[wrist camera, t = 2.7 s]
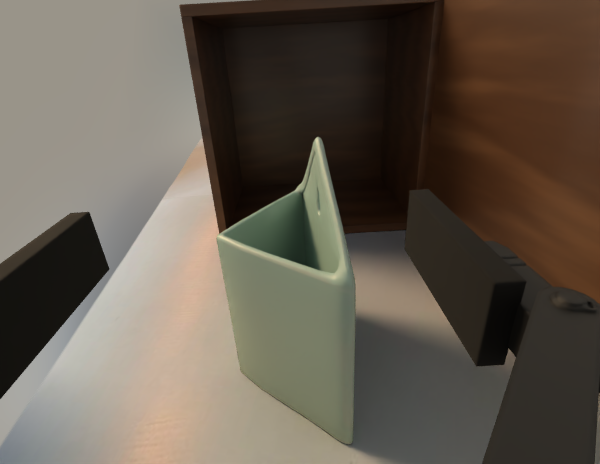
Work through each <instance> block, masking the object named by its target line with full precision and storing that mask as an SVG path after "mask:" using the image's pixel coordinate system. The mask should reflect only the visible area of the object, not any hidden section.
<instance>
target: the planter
mask: <svg viewBox="0 0 600 464" xmlns="http://www.w3.org/2000/svg"><path fill="white" fill-rule="evenodd" d="M216 239H217V244H218V250H219V256H220V261H221V267H222V272H223V277H224V283H225V288H226V293H227V299H228V304H229V310H230V315H231V321H232V326H233V331H234V337H235V342H236V348H237V353H238V359H239V365H240V370H241V372H242V373H243V374H244V375H246V376H247V377H248V378H249V379H250V380H252V381H253V382H254V383H255V384H256V385H258V386H259V387H260V388H261V389H263V390H264V391H266V392H267V393H269V394H270V395H272V396H273V397H275V398H276V399H278V400H279V401H281V402H282V403H284V404H286V405H287V406H289V407H290V408H292V409H293V410H295V411H297V412H298V413H300V414H301V415H303V416H305V417H306V418H308V419H309V420H310V421H312V422H313V423H315V424H316V425H317V426H319V427H320V428H322V429H323V430H325V431H326V432H327V433H329V434H330V435H332V436H333V437H334V438H336V439H337V440H339V441H341V442H342V443H345V444H351V443H352V441H353V413H354V362H355V279H354V274H353V270H352V266H351V261H350V257H349V253H348V248H347V244H346V239H345V235H344V231H343V226H342V222H341V218H340V214H339V209H338V205H337V201H336V197H335V193H334V189H333V184H332V180H331V176H330V172H329V167H328V163H327V158H326V154H325V149H324V145H323V141H322V139H321V138H320V137H317V138H316V139H315V140H314V142H313V146H312V150H311V154H310V158H309V162H308V166H307V170H306V173H305V176H304V179H303V181H302V183H301V184H300V185H299V186H298V187H297V188H296V190H295V191H293V192H291V193H290V194H288V195H286V196H284V197H282V198H280V199H278V200H276V201H275V202H273V203H271V204H269V205H267V206H266V207H264V208H262V209H260V210H259V211H257V212H255V213H253V214H252V215H250V216H248V217H246V218H245V219H243V220H241V221H239V222H238V223H236V224H235V225H233V226H231V227H230V228H228V229H226V230H225V231H223V232H221V233H220V234H219V235H218V236H217V238H216Z"/></svg>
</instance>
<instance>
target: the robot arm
mask: <svg viewBox="0 0 600 464" xmlns="http://www.w3.org/2000/svg"><path fill="white" fill-rule="evenodd" d="M405 250H406V252H407V254H408V255H409V257H410V258H411V260H412V262H413V263H414V265H415V267H416V268H417V270H418V272H419V273H420V275H421V276H422V278H423V280H424V281H425V283H426V285H427V286H428V288H429V290H430V291H431V293H432V295H433V296H434V298H435V299H436V301H437V303H438V304H439V306H440V308H441V309H442V311H443V313H444V314H445V316H446V317H447V319H448V321H449V322H450V324H451V326H452V327H453V329H454V331H455V332H456V334H457V335H458V337H459V339H460V340H461V342H462V344H463V345H464V347H465V349H466V350H467V352H468V353H469V355H470V357H471V358H472V360H473V362H474V363H475V365H476V366H490V365H504V363H505V359H506V356H507V352H508V348H509V349H510V350H511V351H512V353H513V354H514V355H515V357H516V360H515V363H514V367H513V370H512V373H511V376H510V379H509V382H508V385H507V388H506V391H505V394H504V398H503V401H502V404H501V407H500V410H499V413H498V416H497V419H496V422H495V425H494V429H493V432H492V435H491V438H490V441H489V444H488V447H487V450H486V453H485V456H484V460H483V463H482V464H594V462H595V445H596V429H597V412H598V396H599V393H600V304H599V303H597V302H596V301H595V300H594V299H593V298H591V297H589V296H587V295H586V294H584V293H581V292H578V291H575V290H572V289H568V288H563V287H553V286H552V285H551V284H549V283H548V282H547V281H546V280H545V279H544V278H542V277H541V276H540V275H539V274H538V273H537V272H536V271H534V270H533V269H532V268H531V267H530V266H529V265H526V263H525V262H524V261H523V260H522V259H521V258H518V256H517V255H516V254H515V253H514V252H512V251H511V250H510V249H509V248H508V247H506V246H503V245H501V244H499V243H497V242H495V241H483V240H482V239H481V238H480V237H479V236H478V235H477V234H476V233H475V232H474V231H472V230H471V229H470V228H469V227H468V226H467V225H466V224H465V223H464V222H463V221H462V220H461V219H460V218H459V217H458V216H456V215H455V214H454V213H453V212H452V211H451V210H450V209H449V208H448V207H447V206H446V205H445V204H444V203H443V202H442V201H440V200H439V199H438V198H437V197H436V196H435V195H434V194H433V193H432V192H431V191H430V190H429V189H423V190H410V193H409V205H408V217H407V229H406V241H405ZM108 270H109V267H108V264H107V261H106V258H105V255H104V252H103V250H102V247H101V244H100V241H99V238H98V235H97V233H96V230H95V227H94V224H93V222H92V219H91V216H90V213H89V212H81V213H70V214H69V215H67V216H66V217H65V218H63V219H62V220H60V221H59V222H58V223H56V224H55V225H53V226H52V227H51V228H50V229H48V230H47V231H45V232H44V233H42V234H41V235H40V236H38V237H37V238H35V239H34V240H33V241H31V242H30V243H28V244H27V245H26V246H24V247H23V248H21V249H20V250H19V251H17V252H16V253H15V254H13V255H12V256H10V257H9V258H8V259H6V260H5V261H3V262H2V263H1V264H0V399H1V398H2V396H3V395H4V394H5V393H6V392H7V390H8V389H9V388H10V387H11V386H12V384H13V383H14V382H15V381H16V380H17V379H18V377H19V376H20V375H21V374H22V373H23V372H24V370H25V369H26V368H27V367H28V365H29V364H30V363H31V362H32V361H33V360H34V358H35V357H36V356H37V355H38V354H39V352H40V351H41V350H42V349H43V348H44V346H45V345H46V344H47V343H48V342H49V341H50V339H51V338H52V337H53V336H54V335H55V333H56V332H57V331H58V330H59V329H60V327H61V326H62V325H63V324H64V323H65V321H66V320H67V319H68V318H69V317H70V315H71V314H72V313H73V312H74V311H75V310H76V308H77V307H78V306H79V305H80V303H81V302H82V301H83V300H84V299H85V297H86V296H87V295H88V294H89V293H90V292H91V290H92V289H93V288H94V287H95V286H96V284H97V283H98V282H99V281H100V280H101V279H102V277H103V276H104V275H105V274H106V273H107V271H108Z"/></svg>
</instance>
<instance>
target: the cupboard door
mask: <svg viewBox="0 0 600 464" xmlns="http://www.w3.org/2000/svg"><path fill="white" fill-rule="evenodd" d="M424 189H429V190H430V191H431V192H432V193H433V194H434V195H435V196H436V197H437V198H438V199H439V200H440V201H442V202H443V203H444V204H445V205H446V206H447V207H448V208H449V209H450V210H451V211H452V212H453V213H454V214H455V215H456V216H458V217H459V218H460V219H461V220H462V221H463V222H464V223H465V224H466V225H467V226H468V227H469V228H470V229H471V230H472V231H474V232H475V233H476V234H477V235H478V236H479V237H480V238H481V239H482V240H483V241H495V242H497V243H499V244H501V245H503V246H506V247H508V248H509V249H510V250H511V251H512V252H514V253H515V254H516V255H517V256H518V258H521V259H522V260H523V261H524V262H525V263H526V265H529V266H530V267H531V268H532V269H533V270H534V271H536V272H537V273H538V274H539V275H540V276H541V277H542V278H544V279H545V280H546V281H547V282H548V283H549V284H551V285H552V286H553V287H563V288H568V289H572V290H575V291H578V292H581V293H584V294H586V295H587V296H589V297H591V298H593V299H594V300H595V301H596V302H597V303H599V304H600V0H444V9H443V18H442V27H441V36H440V45H439V54H438V64H437V73H436V82H435V91H434V100H433V109H432V118H431V128H430V137H429V146H428V155H427V164H426V173H425V182H424Z"/></svg>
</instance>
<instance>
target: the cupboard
mask: <svg viewBox="0 0 600 464" xmlns="http://www.w3.org/2000/svg"><path fill="white" fill-rule="evenodd" d="M179 6H180V12H181V17H182V23H183V29H184V34H185V41H186V46H187V52H188V58H189V63H190V69H191V75H192V80H193V86H194V92H195V97H196V103H197V109H198V115H199V120H200V126H201V131H202V137H203V143H204V149H205V154H206V160H207V166H208V172H209V177H210V183H211V189H212V194H213V200H214V206H215V211H216V217H217V223H218V228H219V234H220V233H221V232H223V231H225V230H226V229H228V228H230V227H231V226H233V225H235V224H236V223H238V222H239V221H241V220H243V219H245V218H246V217H248V216H250V215H252V214H253V213H255V212H257V211H259V210H260V209H262V208H264V207H266V206H267V205H269V204H271V203H273V202H275V201H276V200H278V199H280V198H282V197H284V196H286V195H288V194H290V193H291V192H293V191H295V190H296V188H297V187H298V186H299V185H300V184H301V183H302V181H303V179H304V176H305V173H306V170H307V166H308V162H309V158H310V154H311V150H312V146H313V142H314V140H315V139H316V138H317V137H320V138H321V139H322V141H323V145H324V149H325V154H326V158H327V163H328V167H329V172H330V176H331V180H332V184H333V189H334V193H335V197H336V201H337V205H338V209H339V214H340V218H341V222H342V226H343V231H344V233H359V232H375V231H391V230H406V229H407V217H408V205H409V193H410V190H423V189H424V182H425V173H426V164H427V155H428V146H429V137H430V128H431V118H432V109H433V100H434V91H435V82H436V73H437V64H438V54H439V45H440V36H441V27H442V18H443V9H444V0H252V1H235V2H217V3H200V4H185V5H179Z"/></svg>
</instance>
